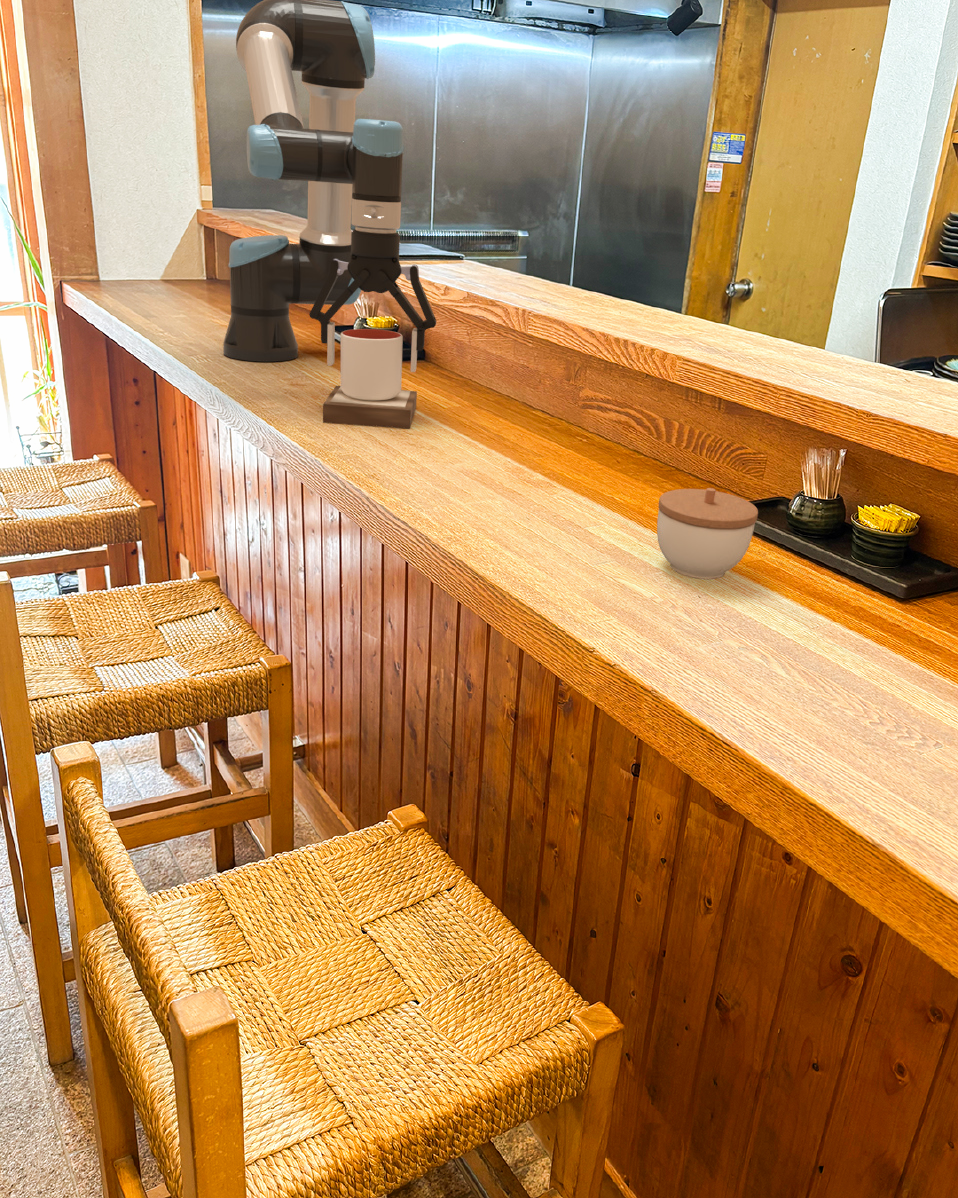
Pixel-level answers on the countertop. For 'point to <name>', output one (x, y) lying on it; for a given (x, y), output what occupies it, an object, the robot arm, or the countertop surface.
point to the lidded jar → (704, 531)
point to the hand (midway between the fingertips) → (372, 367)
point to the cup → (371, 364)
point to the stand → (370, 410)
